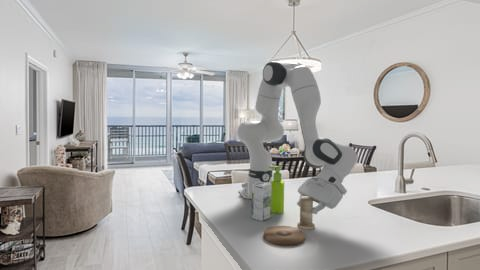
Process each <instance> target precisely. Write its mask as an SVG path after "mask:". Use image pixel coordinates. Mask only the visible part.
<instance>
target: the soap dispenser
mask: <svg viewBox="0 0 480 270" xmlns="http://www.w3.org/2000/svg"><path fill="white" fill-rule="evenodd" d="M269 168H270V169H272V170H273V169H275V172H273V179H274V180H273V181H271V213H273V214H282V213H284V212H285V181H284V180H282V173H281V172H280V170H281V169H280V168H282V166H281V165H272V166H270V167H269Z"/></svg>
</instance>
